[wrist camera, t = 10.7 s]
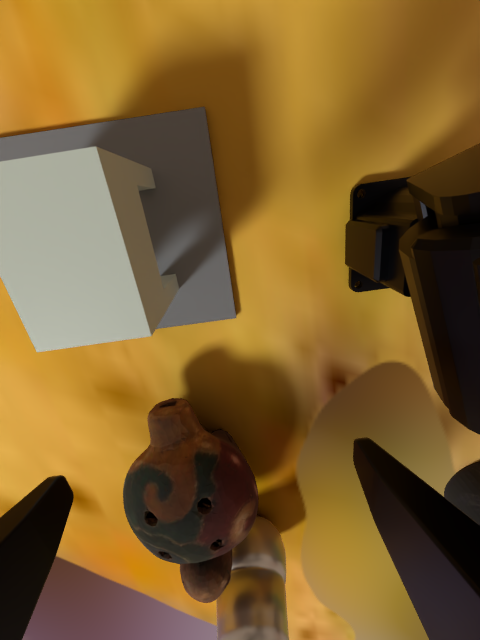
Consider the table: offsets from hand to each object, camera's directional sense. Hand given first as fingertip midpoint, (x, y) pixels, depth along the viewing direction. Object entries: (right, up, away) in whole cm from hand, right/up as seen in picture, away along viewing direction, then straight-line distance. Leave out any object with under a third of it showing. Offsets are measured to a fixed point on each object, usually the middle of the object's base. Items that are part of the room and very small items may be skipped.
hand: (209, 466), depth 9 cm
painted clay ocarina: (-3, -7, +16) cm, 18 cm away
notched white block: (-6, +9, +8) cm, 14 cm away
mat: (-6, +10, +9) cm, 14 cm away
